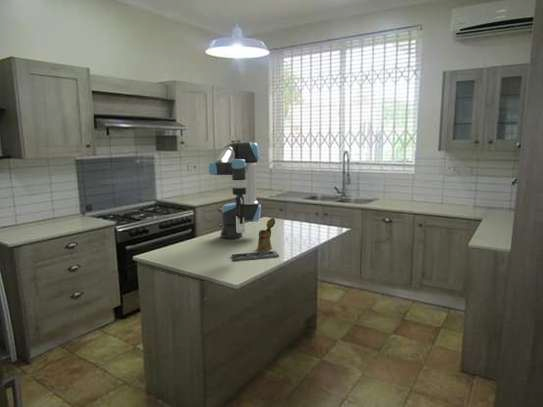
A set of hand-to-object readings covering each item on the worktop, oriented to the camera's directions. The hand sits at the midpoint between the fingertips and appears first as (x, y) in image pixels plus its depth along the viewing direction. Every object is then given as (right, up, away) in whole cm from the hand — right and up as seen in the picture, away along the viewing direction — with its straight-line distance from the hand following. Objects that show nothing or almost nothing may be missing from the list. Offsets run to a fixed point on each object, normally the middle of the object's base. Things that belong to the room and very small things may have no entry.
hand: (240, 228), depth 220 cm
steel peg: (0, -2, 0) cm, 2 cm away
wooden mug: (+15, -14, +23) cm, 31 cm away
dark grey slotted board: (+8, -17, +5) cm, 19 cm away
